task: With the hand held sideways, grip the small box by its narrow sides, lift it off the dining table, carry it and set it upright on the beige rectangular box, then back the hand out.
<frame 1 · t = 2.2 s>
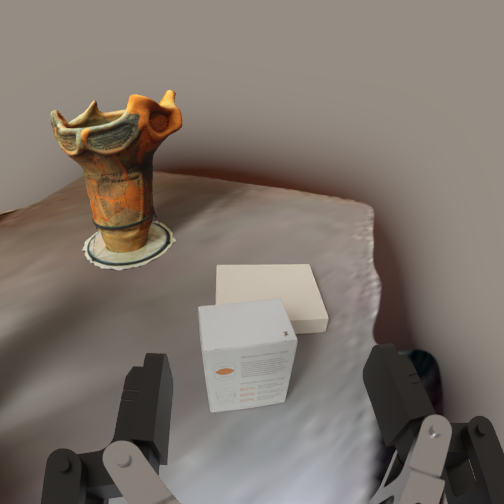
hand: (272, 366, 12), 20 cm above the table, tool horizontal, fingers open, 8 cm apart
small box: (243, 389, 33), on the table
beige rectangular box: (266, 303, 45), on the table
decorative vase: (128, 243, 57), on the table
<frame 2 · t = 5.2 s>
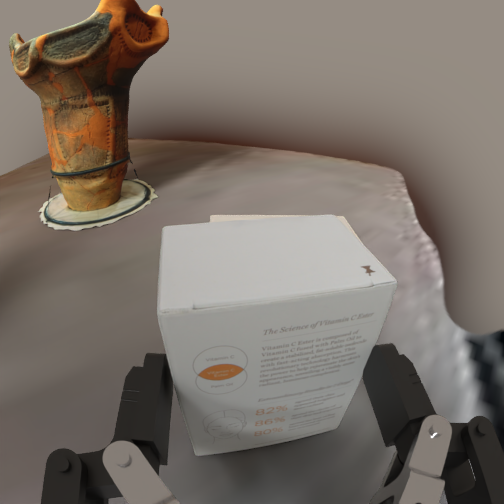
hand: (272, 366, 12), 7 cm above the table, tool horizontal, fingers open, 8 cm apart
small box: (257, 409, 17), on the table, touching gripper
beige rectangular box: (287, 268, 29), on the table
decorative vase: (96, 202, 41), on the table
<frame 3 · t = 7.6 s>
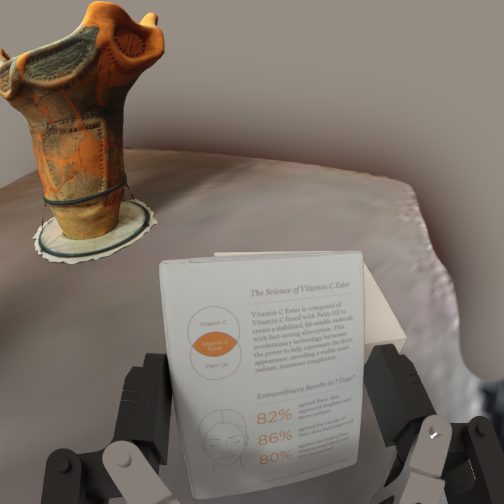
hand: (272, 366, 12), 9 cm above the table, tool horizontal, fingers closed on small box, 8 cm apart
small box: (264, 461, 14), point 2 cm above the table, touching gripper
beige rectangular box: (297, 314, 27), on the table
decorative vase: (93, 227, 39), on the table
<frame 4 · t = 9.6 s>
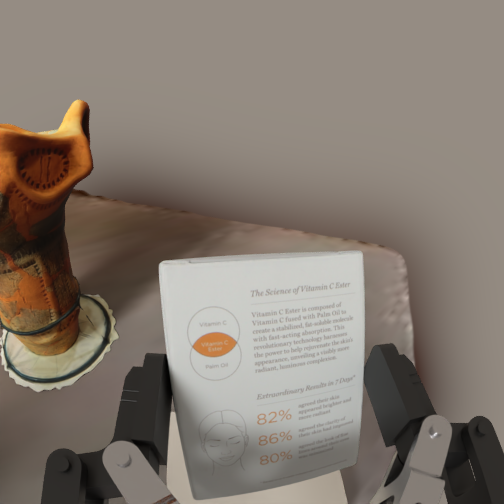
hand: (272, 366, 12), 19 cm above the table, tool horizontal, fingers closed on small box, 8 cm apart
small box: (264, 462, 14), point 12 cm above the table, touching gripper
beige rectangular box: (252, 478, 22), on the table
decorative vase: (55, 336, 34), on the table
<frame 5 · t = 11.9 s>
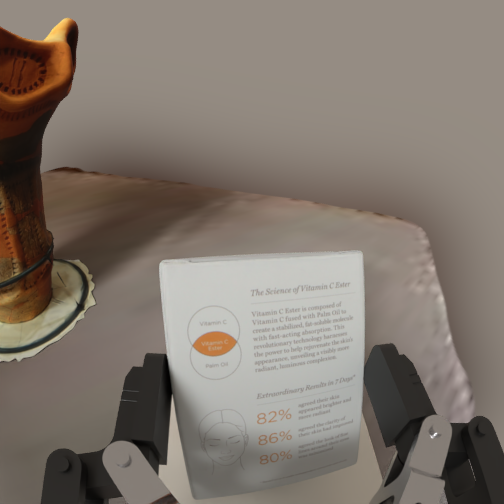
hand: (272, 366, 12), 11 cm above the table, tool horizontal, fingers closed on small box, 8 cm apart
small box: (263, 462, 14), point 4 cm above the table, touching gripper, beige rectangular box
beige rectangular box: (256, 484, 16), on the table
decorative vase: (25, 303, 28), on the table
when the fingers open (11 cm above the table, at t = 13.7 s): small box drops 2 cm, resting on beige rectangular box.
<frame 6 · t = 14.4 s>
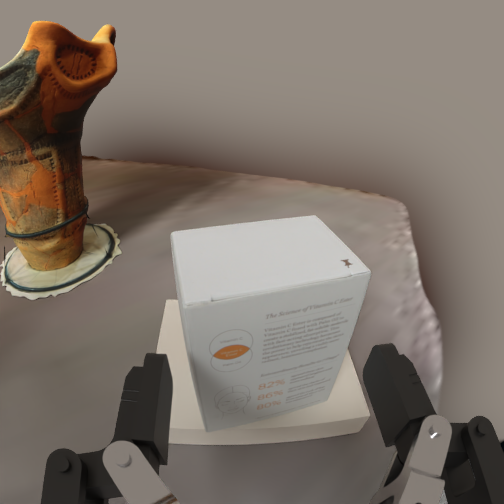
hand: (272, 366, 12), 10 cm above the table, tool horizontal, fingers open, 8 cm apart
small box: (255, 387, 20), point 2 cm above the table, touching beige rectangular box
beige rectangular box: (252, 374, 23), on the table
decorative vase: (58, 256, 36), on the table
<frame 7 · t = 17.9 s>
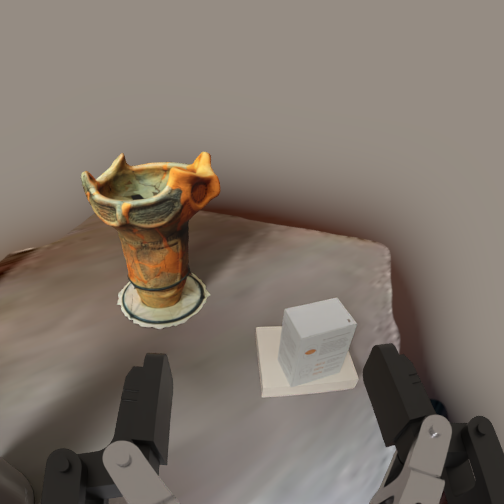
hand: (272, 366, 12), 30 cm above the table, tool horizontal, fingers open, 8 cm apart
small box: (307, 367, 44), point 2 cm above the table, touching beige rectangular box
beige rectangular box: (302, 362, 48), on the table
decorative vase: (163, 296, 60), on the table
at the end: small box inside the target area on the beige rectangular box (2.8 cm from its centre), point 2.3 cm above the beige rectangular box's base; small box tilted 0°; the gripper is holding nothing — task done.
